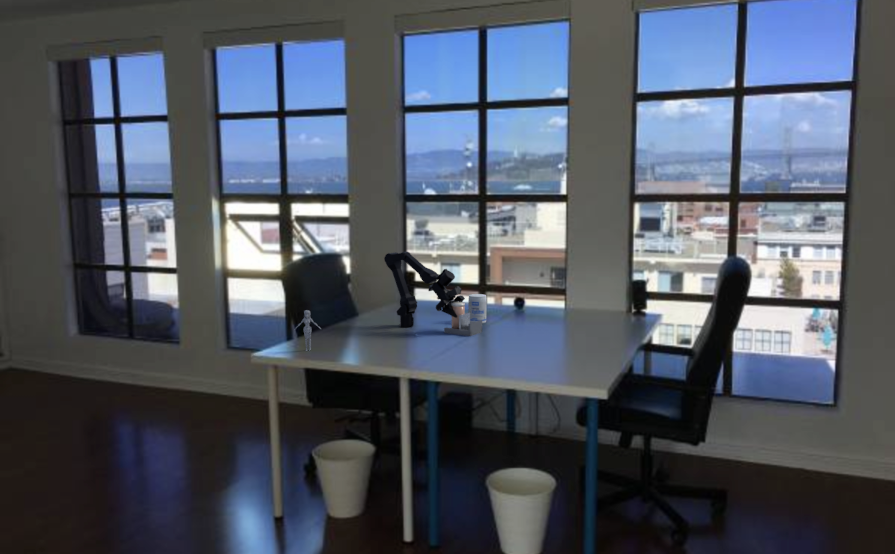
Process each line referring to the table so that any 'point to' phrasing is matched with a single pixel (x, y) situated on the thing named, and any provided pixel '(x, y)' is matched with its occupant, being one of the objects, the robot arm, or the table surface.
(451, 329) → the lane
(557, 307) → the table surface
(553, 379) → the table surface
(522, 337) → the table surface
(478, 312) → the supplement tub
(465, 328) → the follower
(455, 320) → the jar
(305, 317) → the human figurine
